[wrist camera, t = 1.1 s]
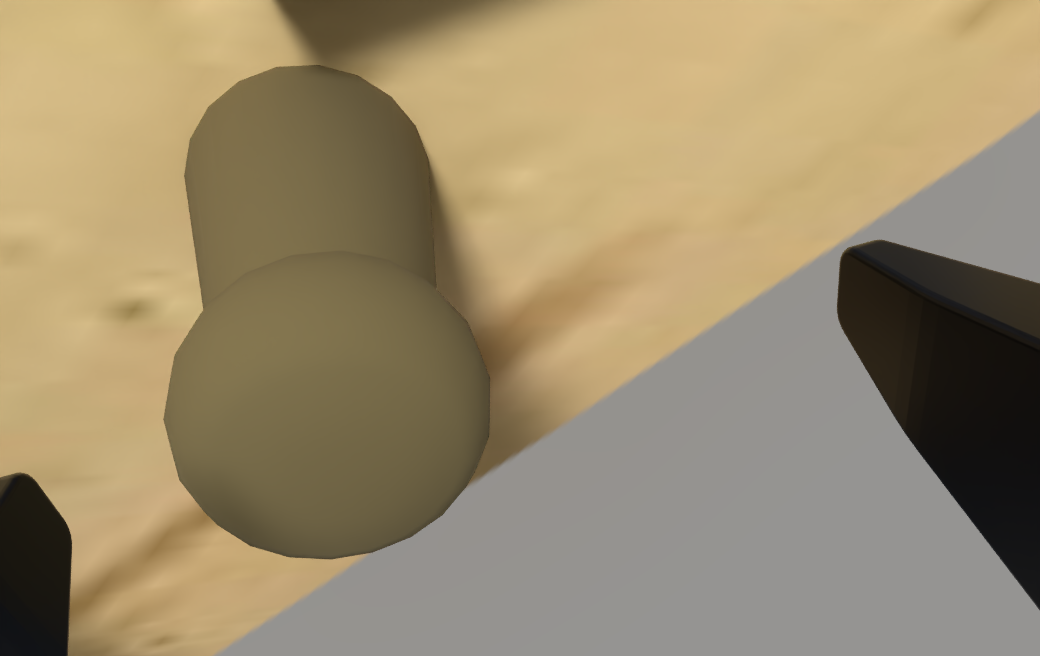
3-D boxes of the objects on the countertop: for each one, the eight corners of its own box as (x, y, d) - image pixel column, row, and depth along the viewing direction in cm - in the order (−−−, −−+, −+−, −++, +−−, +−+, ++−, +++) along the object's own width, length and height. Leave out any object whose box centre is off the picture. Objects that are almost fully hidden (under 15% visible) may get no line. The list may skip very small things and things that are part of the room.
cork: (476, 171, 22) (613, 439, 14) (328, 325, 24) (364, 658, 15) (290, 8, 19) (309, 219, 10) (132, 197, 21) (28, 526, 12)
